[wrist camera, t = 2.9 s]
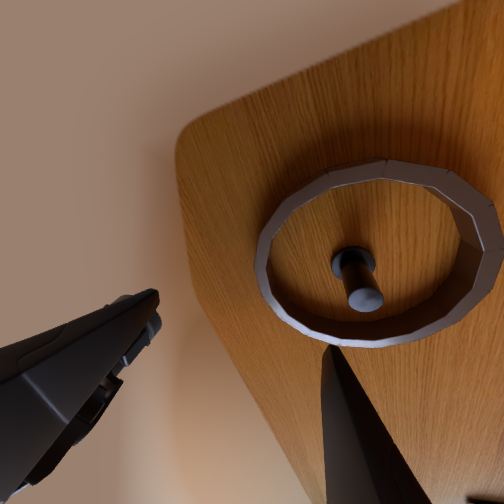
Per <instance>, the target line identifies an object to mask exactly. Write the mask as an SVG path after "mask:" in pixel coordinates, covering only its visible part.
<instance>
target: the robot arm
mask: <svg viewBox="0 0 504 504" xmlns="http://www.w3.org/2000/svg"><path fill="white" fill-rule="evenodd" d="M159 302H160V299H159V292H158V290H155V289H152V288H150V289H147V290H145V291H142V292H140V293H137V294H135V295H132V296H130V297H128V298H125V299H123V300H120V301H118V302H116V303H113V304H111V305H108V304H107V305H105V306H104V308H101V309H99V310H96V311H94V312H92V313H89V314H87V315H84V316H82V317H80V318H77V319H75V320H72V321H70V322H68V323H65V324H63V325H60V326H58V327H55V328H53V329H51V330H48V331H45V332H43V333H40V334H38V335H35V336H32V337H30V338H27V339H24V340H22V341H19V342H16V343H13V344H10V345H8V346H5V347H2V348H0V504H4V503H5V502H6V501H7V500H8V499H9V498H10V497H12V496H13V495H15V494H16V493H17V492H19V491H21V490H22V489H23V488H25V487H26V486H28V485H29V484H30V485H32V486H34V485H36V484H37V483H39V482H40V481H41V480H43V479H44V478H45V477H46V476H48V475H49V474H50V473H51V472H52V471H53V470H54V469H55V467H56V466H57V465H58V463H59V462H60V461H61V459H62V458H63V457H64V456H65V454H66V453H67V451H68V450H69V449H70V448H71V447H72V446H75V445H76V444H78V443H79V442H80V441H81V440H82V439H83V438H84V437H85V436H86V435H87V434H88V433H89V432H90V431H91V429H92V428H93V427H94V426H95V424H96V423H97V422H98V420H99V419H100V417H101V416H102V414H103V413H104V411H105V410H106V408H107V407H108V405H109V404H110V402H111V401H112V399H113V397H114V396H115V394H116V393H117V391H118V390H119V388H120V387H121V385H122V384H123V380H121V379H119V378H117V377H116V376H117V375H118V374H119V373H120V371H121V370H122V369H123V368H124V367H127V366H129V365H130V364H131V363H132V361H133V360H134V359H135V358H136V356H137V355H138V354H139V353H140V352H141V350H142V349H143V348H144V347H145V346H149V344H150V338H149V334H148V329H147V322H148V321H149V319H150V318H151V316H152V315H153V313H154V311H155V310H156V308H157V307H158V305H159ZM321 410H322V427H323V444H324V462H325V479H326V496H327V504H432V503H431V501H430V500H429V498H428V496H427V495H426V493H425V492H424V490H423V489H422V487H421V486H420V484H419V482H418V481H417V479H416V478H415V476H414V474H413V473H412V471H411V469H410V468H409V466H408V464H407V463H406V461H405V460H404V458H403V456H402V454H401V453H400V451H399V449H398V448H397V446H396V444H395V443H394V441H393V439H392V437H391V436H390V434H389V432H388V431H387V429H386V427H385V425H384V424H383V422H382V420H381V419H380V417H379V415H378V413H377V412H376V410H375V408H374V407H373V405H372V403H371V401H370V400H369V398H368V396H367V395H366V393H365V391H364V389H363V388H362V386H361V384H360V383H359V381H358V379H357V377H356V376H355V374H354V372H353V371H352V369H351V367H350V365H349V364H348V362H347V360H346V359H345V357H344V355H343V353H342V352H341V350H340V348H339V347H337V346H334V345H331V344H330V345H328V347H327V349H326V350H325V352H324V354H323V357H322V374H321Z"/></svg>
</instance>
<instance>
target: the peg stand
mask: <svg viewBox="0 0 504 504" xmlns="http://www.w3.org/2000/svg"><path fill="white" fill-rule="evenodd" d="M375 265H376V263H375V259H374V257H373V255H372V254H371V253H370V251H368V250H367V249H365V248H363V247H359V246H349V247H345V248H343V249H341V250H339V251H338V252H336V253H335V254H334V256H333V258H332V260H331V269H332V272H333V274H334V275H335V276H336V277H337V278H339V279H340V280H342V281H343V284H344V288H345V292H346V296H347V300H348V303H349V305H350V306H351V307H352V308H353V309H355V310H357V311H360V312H371V311H374V310H377V309H378V308H380V307H381V306H382V304H383V302H384V297H383V294H382V292H381V290H380V288H379V286H378V284H377V282H376V280H375V278H374V276H373V274H372V273H373V271H374V269H375Z"/></svg>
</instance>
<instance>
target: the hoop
mask: <svg viewBox="0 0 504 504" xmlns="http://www.w3.org/2000/svg"><path fill="white" fill-rule="evenodd" d="M377 179H387V180H393V181H398V182H404V183H409V184H415V185H420V186H423V187H424V188H425V189H427V190H428V191H429V192H431V193H432V194H433V195H435V196H436V197H437V198H439V199H440V200H441V201H443V202H444V203H445V204H447V205H448V206H449V207H450V209H451V212H452V214H453V217H454V220H455V222H456V225H457V228H458V231H459V233H460V236H461V242H460V246H459V250H458V254H457V258H456V262H455V266H454V270H453V273H452V274H451V275H450V276H449V277H448V278H447V280H446V281H445V282H444V283H443V284H442V285H441V287H440V288H439V289H438V290H437V291H436V292H435V294H434V295H433V296H432V297H431V298H430V299H428V300H426V301H424V302H423V303H421V304H419V305H417V306H416V307H414V308H412V309H410V310H409V311H407V312H405V313H403V314H401V315H399V316H395V317H391V318H386V319H382V320H378V321H374V322H370V323H361V322H336V321H333V320H330V319H326V318H323V317H319V316H316V315H312V314H310V313H308V312H307V311H305V310H304V309H302V308H301V307H299V306H298V305H296V304H295V303H293V302H292V301H290V300H289V299H288V297H287V296H286V295H285V293H284V292H283V291H282V289H281V288H280V287H279V285H278V284H277V283H276V281H275V279H274V274H273V270H272V266H271V261H270V257H269V256H270V252H271V248H272V243H273V239H274V236H275V235H276V233H277V232H278V231H279V229H280V228H281V227H282V225H283V224H284V223H285V222H286V220H287V219H288V218H289V216H290V215H291V214H292V212H293V211H294V210H296V209H298V208H299V207H301V206H303V205H304V204H306V203H308V202H309V201H311V200H313V199H314V198H316V197H318V196H319V195H321V194H323V193H324V192H326V191H328V190H329V189H331V188H335V187H340V186H345V185H351V184H356V183H361V182H366V181H372V180H377ZM492 203H493V201H491V200H490V199H489V198H487V197H486V196H485V195H483V194H482V193H481V192H479V191H478V190H477V189H475V188H474V187H473V186H471V185H470V184H469V183H467V182H466V181H465V180H464V179H462V178H461V177H460V176H458V175H457V174H456V173H454V172H453V171H452V170H449V169H446V168H440V167H434V166H428V165H422V164H416V163H410V162H404V161H398V160H392V159H386V158H380V157H377V158H370V159H366V160H361V161H357V162H352V163H348V164H343V165H339V166H335V167H330V168H326V170H322V171H320V172H319V173H317V174H316V175H314V176H313V177H311V178H310V179H308V180H307V181H305V182H304V183H302V184H301V185H299V186H298V187H296V188H295V189H293V190H291V191H290V192H288V193H287V194H286V195H285V196H284V198H283V199H282V200H281V202H280V203H279V205H278V206H277V208H276V209H275V210H274V212H273V213H272V215H271V216H270V218H269V219H268V221H267V222H266V223H265V225H264V227H263V229H262V230H261V232H260V235H259V239H258V245H257V250H256V256H255V261H254V270H255V274H256V277H257V281H258V284H259V288H260V292H261V295H262V297H263V298H264V299H265V301H266V302H267V303H268V304H269V306H270V307H271V308H272V309H273V311H274V312H275V313H276V314H277V316H278V317H279V318H280V319H281V320H283V321H284V322H286V323H287V324H289V325H291V326H292V327H294V328H295V329H297V330H298V331H300V332H301V333H303V334H305V335H307V336H309V337H312V338H315V339H319V340H322V341H325V342H328V343H332V344H335V345H340V346H351V347H368V348H376V347H377V348H379V347H385V346H391V345H396V344H402V343H408V342H413V341H417V340H421V339H423V338H425V337H427V336H429V335H432V334H434V333H436V332H438V331H440V330H442V329H445V328H447V327H449V326H451V325H453V324H455V323H457V321H460V320H461V319H462V318H463V317H464V316H465V315H466V314H467V313H469V312H470V311H471V310H472V309H473V308H474V307H475V306H476V305H477V304H478V303H479V302H480V301H481V300H482V299H483V298H484V297H485V296H486V295H488V294H489V293H490V292H491V290H492V289H493V286H494V284H495V281H496V278H497V275H498V273H499V270H500V267H501V264H502V262H503V259H504V236H503V233H502V230H501V226H500V223H499V219H498V216H497V213H496V209H495V206H494V204H492Z"/></svg>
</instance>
